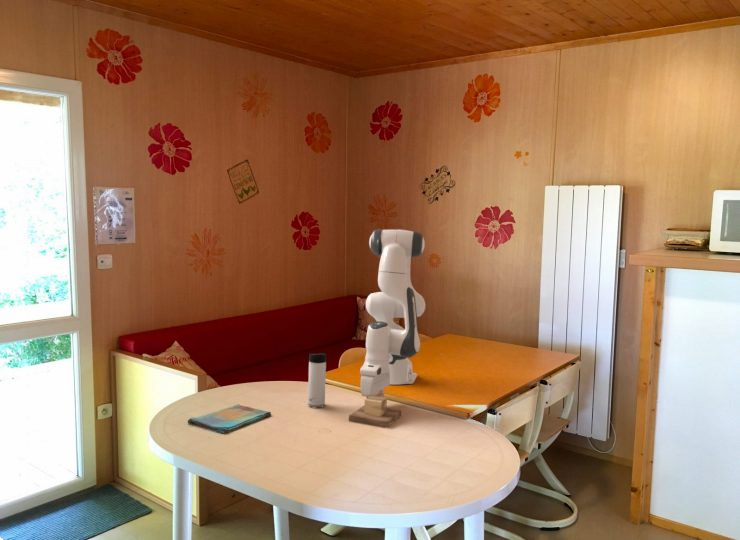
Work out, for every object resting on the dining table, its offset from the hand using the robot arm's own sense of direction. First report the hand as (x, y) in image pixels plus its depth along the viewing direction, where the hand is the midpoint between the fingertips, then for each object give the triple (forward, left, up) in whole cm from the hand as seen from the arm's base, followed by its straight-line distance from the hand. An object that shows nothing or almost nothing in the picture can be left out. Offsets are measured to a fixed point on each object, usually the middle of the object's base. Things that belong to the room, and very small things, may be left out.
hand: (375, 402), depth 221 cm
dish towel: (+37, -38, -3) cm, 53 cm away
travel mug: (+9, -20, -2) cm, 22 cm away
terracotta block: (0, 0, -2) cm, 2 cm away
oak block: (+12, +5, 0) cm, 13 cm away
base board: (+12, +5, -2) cm, 13 cm away
